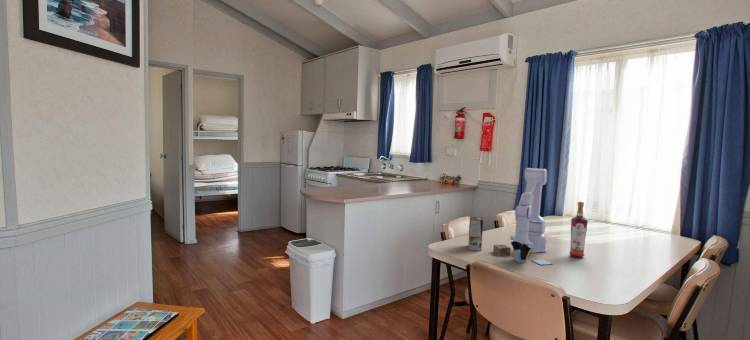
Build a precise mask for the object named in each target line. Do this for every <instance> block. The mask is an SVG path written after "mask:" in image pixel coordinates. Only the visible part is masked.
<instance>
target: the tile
mask: <svg viewBox="0 0 750 340" xmlns="http://www.w3.org/2000/svg"><path fill="white" fill-rule="evenodd" d="M530 261H531V262H533V263H534V264H537V265H539V266H551V265H553V264H554V263H551V262H549V261H547V260H545V259H543V258H542V259H531V260H530Z"/></svg>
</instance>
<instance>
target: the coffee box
mask: <svg viewBox="0 0 750 340" xmlns="http://www.w3.org/2000/svg"><path fill="white" fill-rule="evenodd" d="M468 225H469V226H468V227H469V229H468V249H469V251H479V252H481V251H482V244H483V231H484V230H483V229H484V228H483V227H484V219H483V217H481V216H469V224H468Z"/></svg>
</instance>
